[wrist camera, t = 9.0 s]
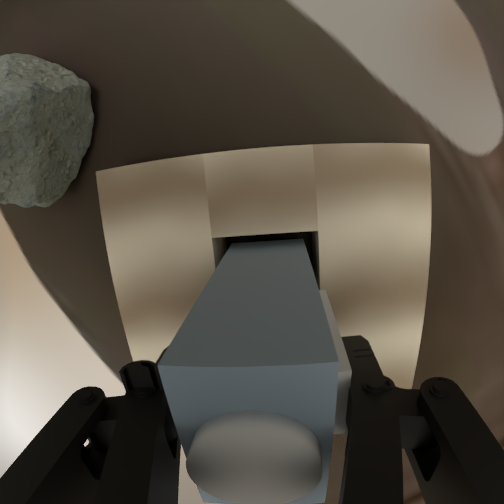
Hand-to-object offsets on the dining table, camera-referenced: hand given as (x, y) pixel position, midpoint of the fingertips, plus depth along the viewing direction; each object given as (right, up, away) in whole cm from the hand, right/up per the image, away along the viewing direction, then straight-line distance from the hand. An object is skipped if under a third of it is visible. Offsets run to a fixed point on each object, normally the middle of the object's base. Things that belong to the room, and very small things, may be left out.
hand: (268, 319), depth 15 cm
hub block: (0, +2, +6) cm, 6 cm away
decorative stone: (-17, +13, +4) cm, 22 cm away
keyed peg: (0, +1, +4) cm, 4 cm away
